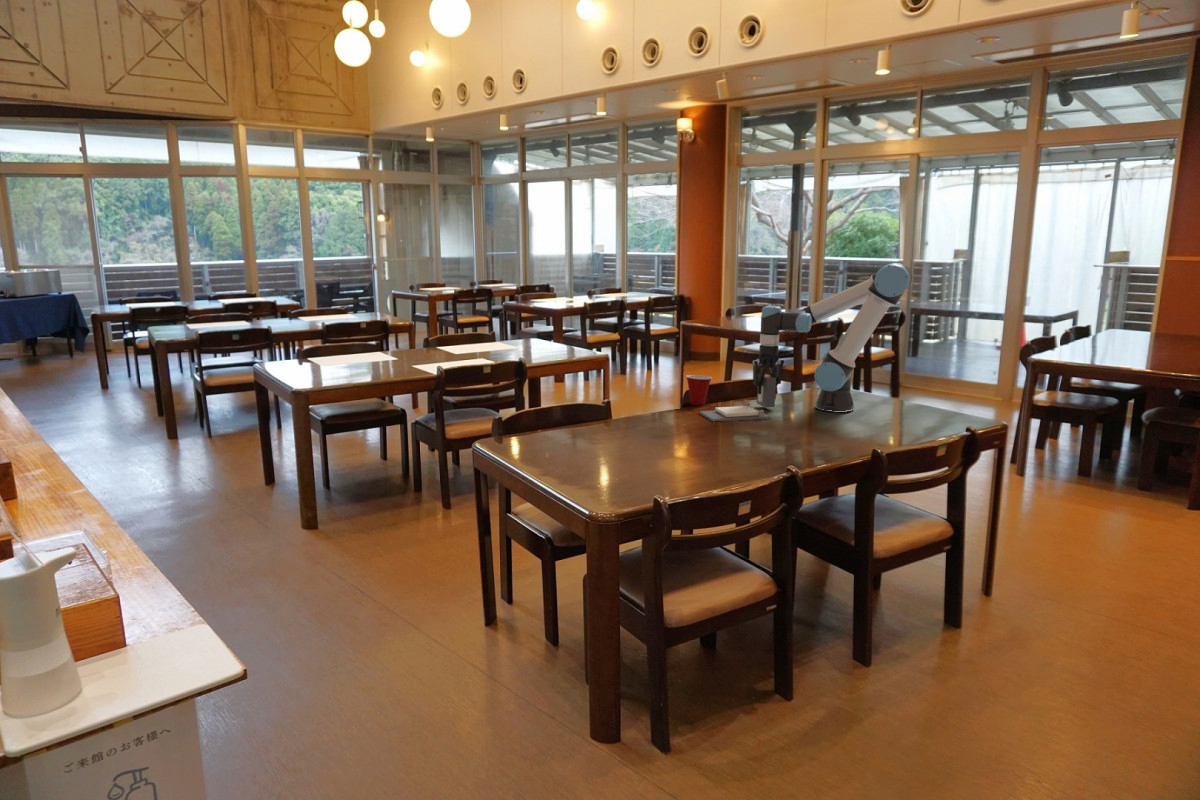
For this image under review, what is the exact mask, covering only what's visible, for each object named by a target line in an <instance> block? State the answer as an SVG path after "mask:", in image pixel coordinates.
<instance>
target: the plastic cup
mask: <svg viewBox="0 0 1200 800" xmlns="http://www.w3.org/2000/svg"><path fill="white" fill-rule="evenodd" d="M685 377H686V380H687V387H688V394H689V395H688V396H689V401H690V404H691V405H693V406H704V405H705V404H706V400H707V396H708V393H709V392H708V391H709V386H710V383H711V380H712V379H713V377H712V376H710V375H709V376H708V375H700V374H699V375H698V374H689V375H688V374H687V375H686V376H685ZM691 390H692V391H691Z"/></svg>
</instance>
